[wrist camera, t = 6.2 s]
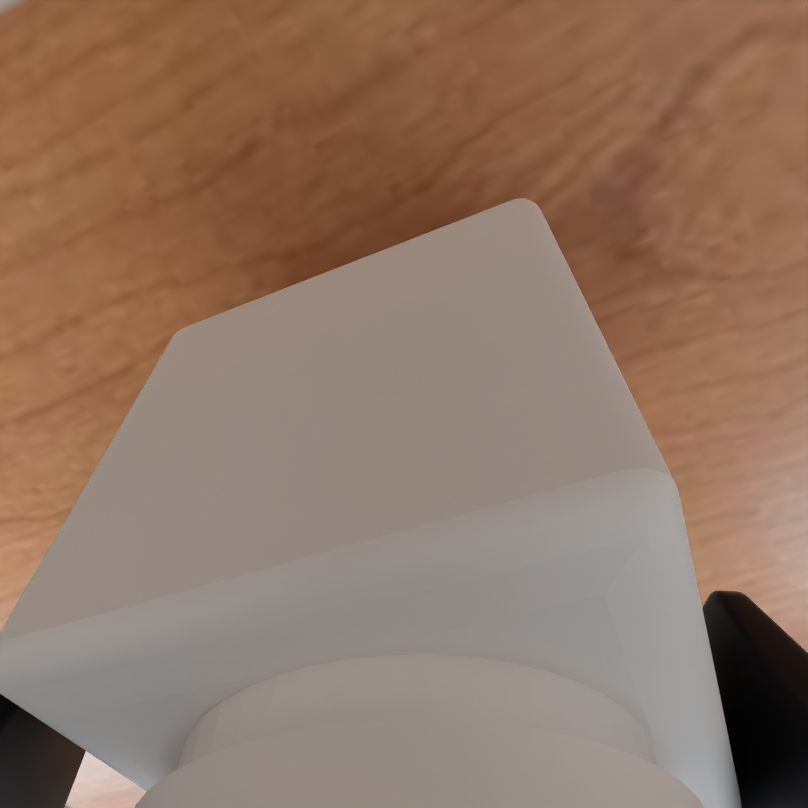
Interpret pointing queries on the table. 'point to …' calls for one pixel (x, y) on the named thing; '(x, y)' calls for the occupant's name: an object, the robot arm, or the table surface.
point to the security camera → (385, 556)
